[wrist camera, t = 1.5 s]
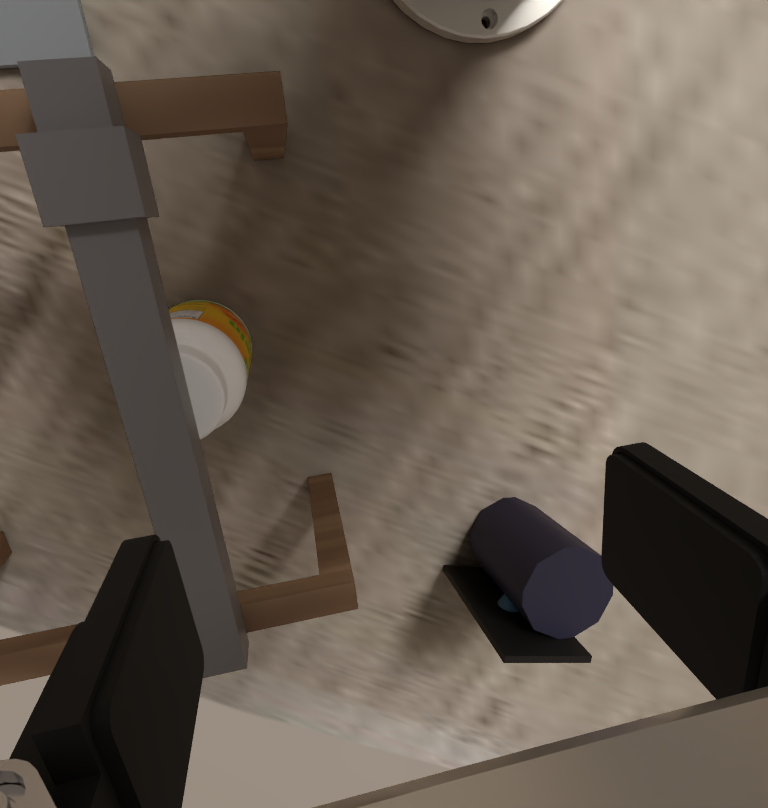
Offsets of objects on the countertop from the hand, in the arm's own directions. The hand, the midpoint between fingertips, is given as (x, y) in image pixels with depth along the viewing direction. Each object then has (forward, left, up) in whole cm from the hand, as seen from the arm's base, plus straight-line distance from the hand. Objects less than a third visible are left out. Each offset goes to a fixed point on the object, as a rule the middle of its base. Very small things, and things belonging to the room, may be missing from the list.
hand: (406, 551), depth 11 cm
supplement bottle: (0, -7, -22) cm, 23 cm away
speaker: (+16, +10, -22) cm, 29 cm away
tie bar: (0, -7, -11) cm, 13 cm away
